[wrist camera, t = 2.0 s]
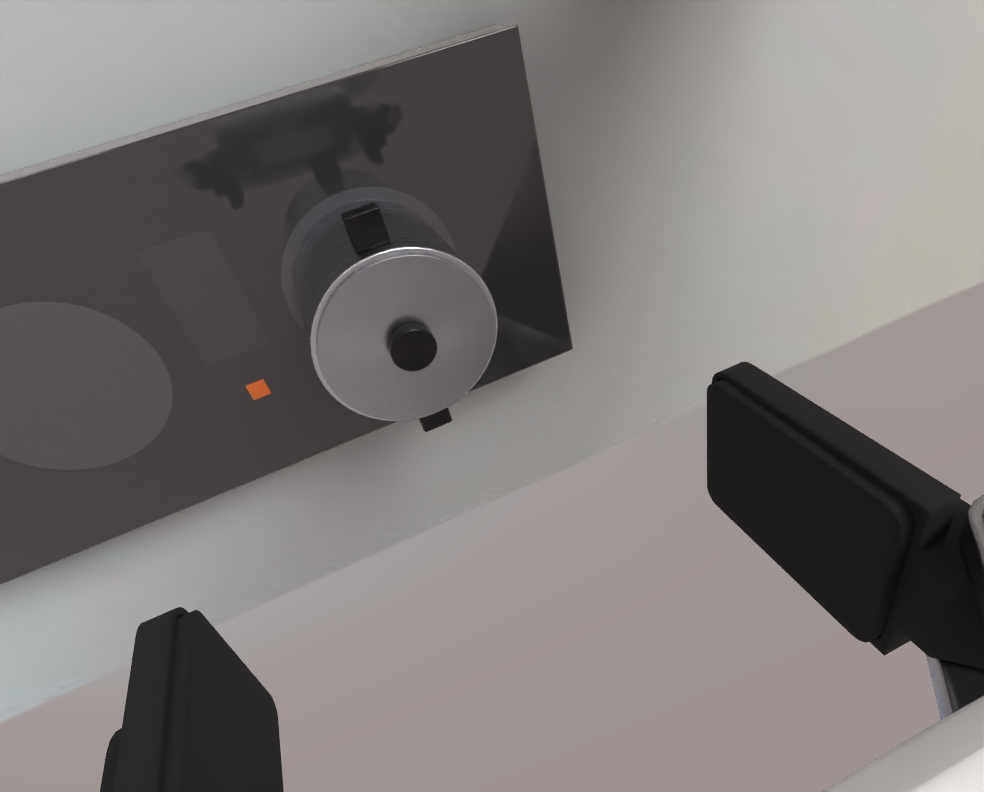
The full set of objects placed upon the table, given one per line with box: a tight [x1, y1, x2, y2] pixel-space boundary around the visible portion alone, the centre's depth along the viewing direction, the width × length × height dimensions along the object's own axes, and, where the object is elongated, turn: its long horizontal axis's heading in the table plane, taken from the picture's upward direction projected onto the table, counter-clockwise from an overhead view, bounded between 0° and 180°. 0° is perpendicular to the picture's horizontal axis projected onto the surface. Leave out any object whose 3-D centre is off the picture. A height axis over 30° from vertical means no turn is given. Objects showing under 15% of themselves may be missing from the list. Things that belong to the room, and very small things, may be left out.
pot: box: [294, 200, 498, 432], centre depth 23 cm, size 7×9×7 cm
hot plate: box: [0, 25, 573, 585], centre depth 26 cm, size 30×15×2 cm, turn 103°
